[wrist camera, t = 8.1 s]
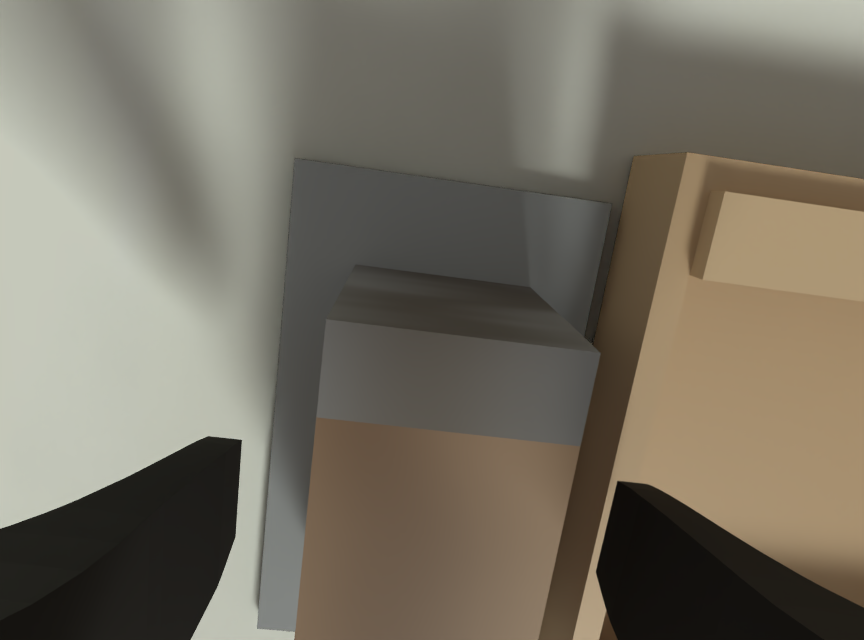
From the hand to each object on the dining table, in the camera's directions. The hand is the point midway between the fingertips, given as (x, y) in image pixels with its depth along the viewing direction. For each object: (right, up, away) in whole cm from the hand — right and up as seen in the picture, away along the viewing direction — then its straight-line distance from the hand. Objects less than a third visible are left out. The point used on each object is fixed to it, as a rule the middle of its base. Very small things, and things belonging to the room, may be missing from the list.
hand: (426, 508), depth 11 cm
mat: (0, +1, +4) cm, 4 cm away
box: (0, +1, +3) cm, 3 cm away
